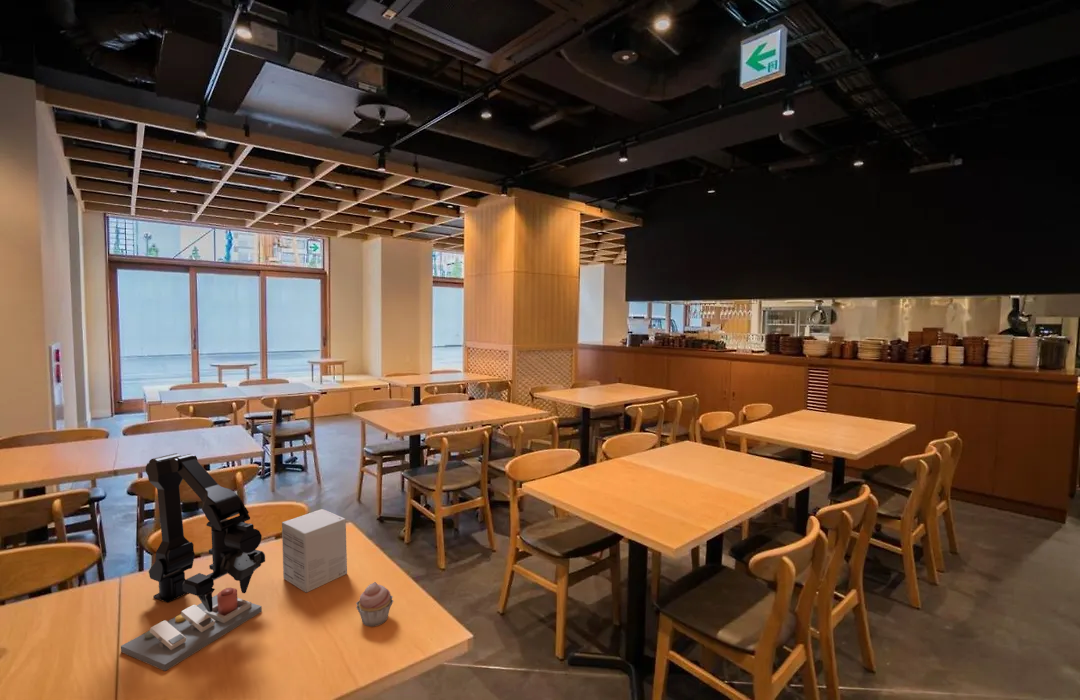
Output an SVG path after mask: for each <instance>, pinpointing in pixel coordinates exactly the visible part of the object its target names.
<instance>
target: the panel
mask: <svg viewBox="0 0 1080 700" xmlns="http://www.w3.org/2000/svg"><path fill="white" fill-rule="evenodd" d="M237 599H238V608H237V609H236V610H234V611H232V612H231V613H229V614H227V615H225V616H223V615H221V614H218V602H217V594H216V595H214V596H212V603H213V608H212V612H208V611H207V609H206V608H205V606H204V605H203V603H202V602H201V603H199V604H197V605H196V606H197V607H199V608H200V609H201V610H202V611H204V612H206V613H207V615H209V616H210V617H211V618H212V619H214V620H215V625H214V626H212V627H210V628H208V629H207V630H205V631H203V632H200V631H199V630H198V629H197V628H196V627H194V626H193V625H192V624H190V623H189V622H188V621H187V620H186V619H185V618H183V617H182V616H181V613H180V614H178V615H176V616H175V617H173V618H170V619H168V620H166V621H167V622H168V623H169V624H171V625H172V626H173V627H174V628H177V629H178V631H179V632H180V633H181V634H183V635H184V636H185V637H186V642H184V643H183V644H181V645H179V646H177V647H176V648H174V649H172V650H170V649H169V648H168V647H167V646H166V645H164V644H163V643H162V642H161V641H158V639H157V638H156V637H155V636H154V635H153V634H152V633H150V630H148V631H146V632H144V633H143V634H140V635H139V636H137V637H134V638H133V639H131V640H129V641H127V642H126V643H123V644H122V645H120V652H121V653H123V654H124V655H127V656H130V657H131V658H134V659H137V660H139V661H141V662H143V663H146V664H148V665H150V666H153V667H155V668H157V669H159V670H162V671H164V672H166V671H168V670H169V669H170V668H173V667H174V666H177V664H179V663H180V662H182V661H184V660H186V659H187V658H189V657H190V656H193V655H194V654H195V653H197V652H199V651H200V650H202V649H203V648H205V647H207V646H208V645H209V644H211V643H213V642H215V641H216V640H218V639H219V638H221V637H223V636H224V635H226V634H228V633H229V632H231V631H232V630H234V629H236V628H238V627H240V626H241V625H242V624H244V623H246V622H247V621H249V620H251V619H252V618H254V617H255V616H257V615H259V614H260V613H262V609H263V607H262V605H259V604H257V603H253V602H252V601H248V600H245V599H243V598H239V597H237Z"/></svg>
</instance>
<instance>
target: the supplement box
mask: <svg viewBox="0 0 1080 700" xmlns="http://www.w3.org/2000/svg"><path fill="white" fill-rule="evenodd" d="M281 535H282V539H281V540H282V542H281V543H282V569H283V571H282V573H283V574H282V575H283V579H284V580H285V581H287V582H288V583H289V584H291V585H293V586H295V587H296V588H298V589H300V590H301V591H302V592H304V593H308V592H311V591H313V590H316V589H317V588H320V587H321V586H324V585H326V584H328V583H330V582H332V581H335V580H337V579H338V578H341V577H343V576H345V575H347V574H348V563H347V562H348V558H347V557H348V553H347V519H346V517H345V518H344V516H343V517H342V516H340V515H338V514H335V513H333V512H330V511H328V510H326V509H323V508H321V509H316V510H315V511H311V512H309V513H306V514H303V515H300V516H297V517H294V518H292V519H287V520H285V521H282V522H281Z"/></svg>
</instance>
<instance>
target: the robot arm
mask: <svg viewBox="0 0 1080 700" xmlns="http://www.w3.org/2000/svg"><path fill="white" fill-rule="evenodd" d="M145 472H146V475H147V478H148V482H149V483H150V484H151V485H152V486H154V488H155V489H156V492H157V501H158V509H159V510H158V511H159V522H160V531H161V533H160V534H161V541H160V544H159V545H158V547H157V549H156V552H155V561H154V563H153V565H152V566H151V567H150V568H149V570H148V574H149V579H151V580H154V581H156V582H158V588H159V589H158V591H159V593H158V592H157V593H156V594H154V595H153V598H154V599H157V600H159V601H162V602H165V603H170V602H172V601H174V600H176V599H177V598H178V599H179V598H180V597H182V596H184V595H186V594H190V595H193V596H196V597H198V598H199V600H200V601H201V603H203V605H204V606H205V608H206V609H207V611H208V612H212V608H213V603H212V597H213V593H214V591H215V590H216V589H215V588H213V587H214V586H215V582H214V581H216V580H218V579H220V578H222V577H224V576H226V575H229V576H231V577H232V578H233V579H234V581H237V582H239V587H240V590H241V593H242V594H246V593H247V590H248V587H249V584H250V581H251V579H252V576H253V574H254V572H255V571H257V569H259V568H260V567H261V566H262V564H263V563H265V562H266V554H265V553H264V551H262V550H258V549H257V548H258V547H259V546H260V544H261V543H262V537H263V536H262V535H263V534H262V533H261V532H260V530H258V529H257V528H254V527H255V525H254V524H253V523H248V522H247V521H249V520H251V517H250V515H249V513H250V511H249V510H248V509H247V507H246V506H245V505H244V502H243V501H242V499H241V497H240V496H239V495H238V494H237V493H236V492H234V491H233V490H232V489H230V488H228V487H223V486H221V485H220V484H219V483H218V482H217V481H216V480H215V479H214V477H212V476H211V474H210V473H209V472H208V471H207V470H206V469H205V468H204V467H203V465H202V464H201V463H200V462H199V461H198V457H197V456H196V454H193V453H187V454H183V455H181V454H180V453H179V452H178V453H177V452H176V453H173V454H166V455H163V456H158V457H154V458H151V459H150V460H149V461H148V462H147V463H146V466H145ZM182 481H184V482H185V483H186V484H187V485H188V486H189V487H190V489H191V490H192V491H193V492H194V493H195V494H196V496H197V497H198V498H199V499H200V500H201V502H202V506H201V510H202V512H203V513H204V515H205V517H206V519H207V520H208V522H207V523H206V525H205V526H207V527H209V528H210V529H211V530H210V531H211V548H210V549H208V554H209V555H212V563H211V564H209V566H208V567H209V570H212V572H210V573H209V574H203V573H201V572H199V573H197V574H194V575H192V576H190V577H188V578H186V572H185V571H188V570H190V569H192V568H193V566H194V562H195V556H196V554H195V550H194V543H193V542H192V541H189V540H188V539H187V538H186V537H185V535H184V533H185V532H184V523H183V513H182V502H181V492H180V485H181V483H182ZM231 517H232V518H231ZM229 518H230V519H229ZM246 522H247V523H246Z"/></svg>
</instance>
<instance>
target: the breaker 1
mask: <svg viewBox="0 0 1080 700" xmlns="http://www.w3.org/2000/svg"><path fill="white" fill-rule="evenodd" d="M167 621H168V620H166V619H165V620H163V621H160V622H159V623H156V624H155V625H153V626H150V628H149V631H150V633H152V634H153V635H154V636H155V637H156V638H157V639H158V641H161V642H162V643H163V644H164V645H166V646H167V647H168V648H169V649H170V650H172V649H174V648H176V647H177V646H179V645H181V644H183V643H184V642H186V637H185V636H184V635H183V634H181V633H180V632H179V631H178V629H177V628H174V627H173V626H172V625H171V624H169V623H168V622H167Z"/></svg>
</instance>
